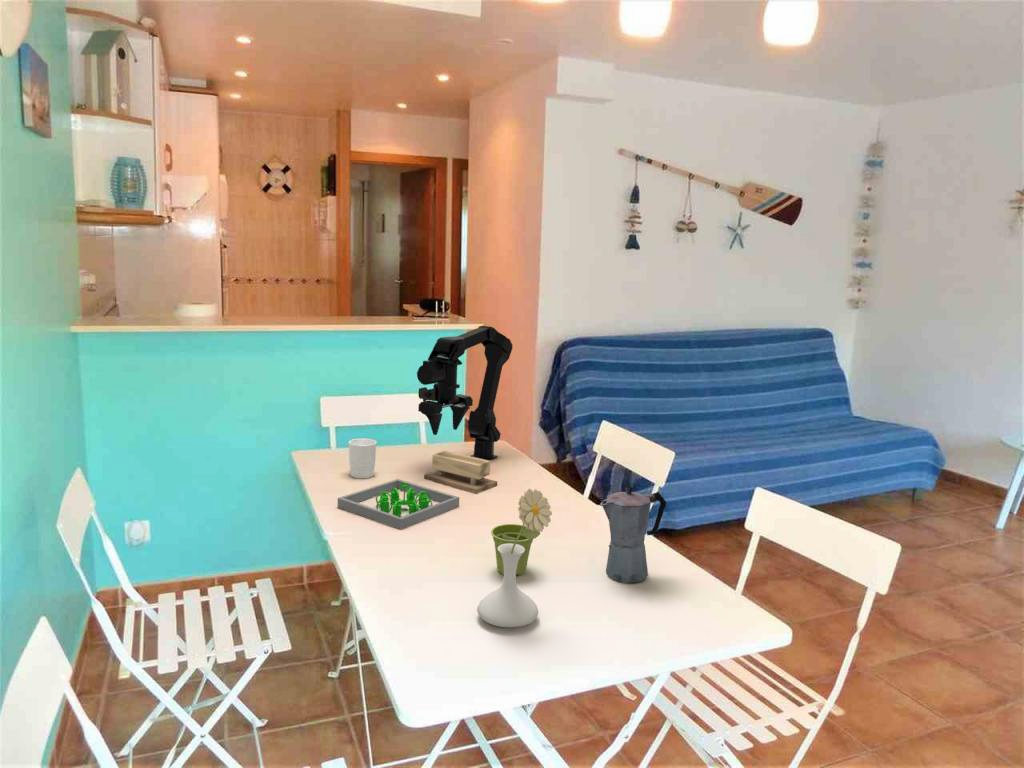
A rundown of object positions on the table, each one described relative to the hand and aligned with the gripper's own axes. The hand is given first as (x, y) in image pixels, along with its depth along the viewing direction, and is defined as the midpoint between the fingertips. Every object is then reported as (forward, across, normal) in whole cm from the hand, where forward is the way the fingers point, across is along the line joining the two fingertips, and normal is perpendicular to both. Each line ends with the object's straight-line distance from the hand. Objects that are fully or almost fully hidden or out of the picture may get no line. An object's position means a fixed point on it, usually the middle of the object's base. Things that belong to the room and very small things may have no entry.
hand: (445, 432), depth 227 cm
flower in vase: (+12, +61, +68) cm, 92 cm away
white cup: (+12, +20, -14) cm, 27 cm away
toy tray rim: (+12, +32, +12) cm, 36 cm away
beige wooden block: (+9, +5, +10) cm, 14 cm away
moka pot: (+12, +29, +76) cm, 82 cm away
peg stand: (+12, +5, +10) cm, 17 cm away
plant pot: (+12, +44, +56) cm, 72 cm away
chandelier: (+12, +32, +14) cm, 37 cm away
